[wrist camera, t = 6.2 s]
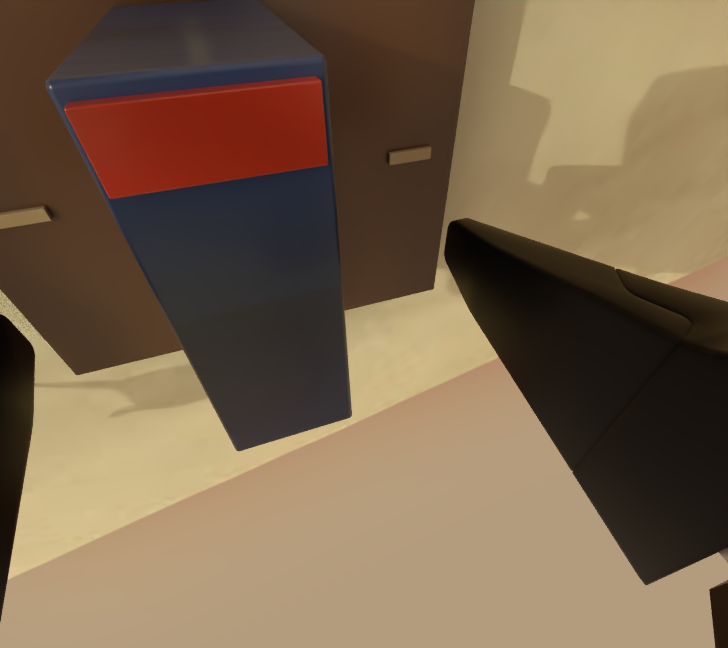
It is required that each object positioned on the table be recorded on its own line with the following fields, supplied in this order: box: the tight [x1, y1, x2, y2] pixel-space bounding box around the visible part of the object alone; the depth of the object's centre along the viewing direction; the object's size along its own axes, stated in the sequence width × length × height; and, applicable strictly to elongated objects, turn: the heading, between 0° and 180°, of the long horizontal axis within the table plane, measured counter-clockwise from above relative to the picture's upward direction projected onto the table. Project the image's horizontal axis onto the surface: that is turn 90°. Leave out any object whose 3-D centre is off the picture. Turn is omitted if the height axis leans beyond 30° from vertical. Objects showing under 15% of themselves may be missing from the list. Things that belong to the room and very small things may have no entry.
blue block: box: [45, 0, 352, 451], centre depth 9 cm, size 8×3×6 cm, turn 2°
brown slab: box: [0, 0, 475, 375], centre depth 12 cm, size 14×12×3 cm
